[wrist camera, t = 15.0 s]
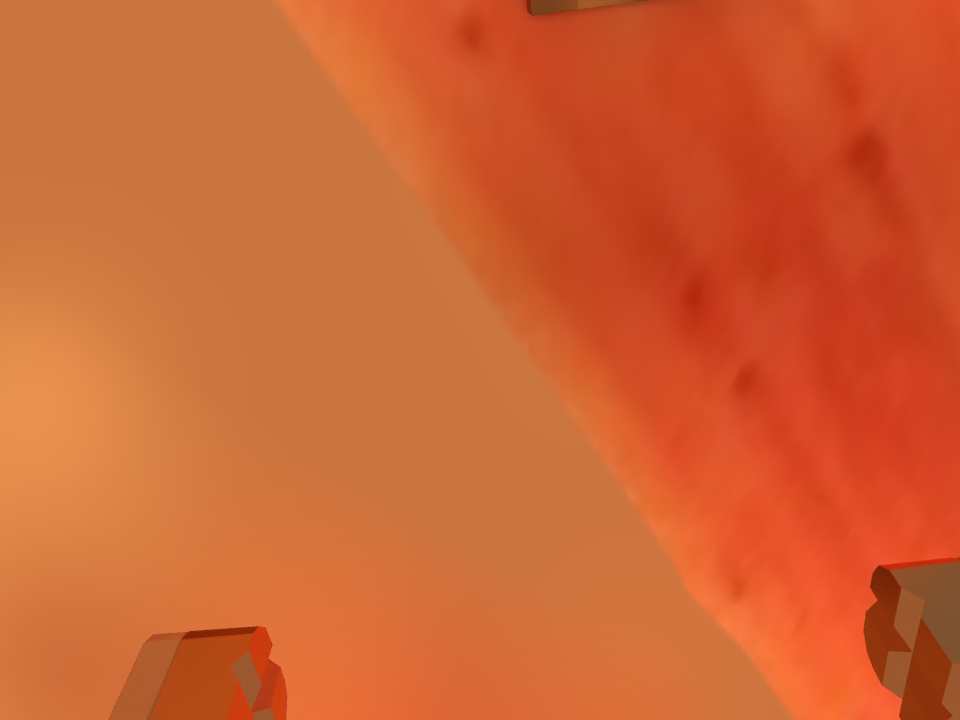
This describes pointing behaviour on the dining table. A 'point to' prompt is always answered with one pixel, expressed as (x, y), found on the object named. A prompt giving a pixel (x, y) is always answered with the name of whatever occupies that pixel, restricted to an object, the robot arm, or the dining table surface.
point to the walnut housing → (568, 5)
